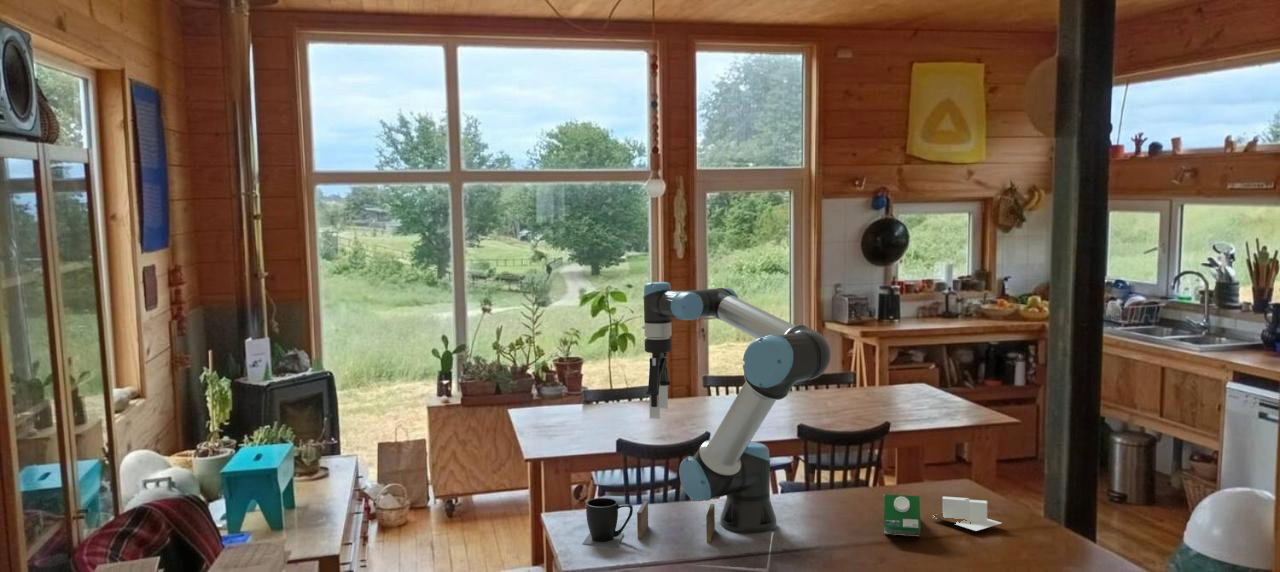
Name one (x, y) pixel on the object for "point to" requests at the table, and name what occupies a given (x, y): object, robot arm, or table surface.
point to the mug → (604, 518)
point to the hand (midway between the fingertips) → (659, 413)
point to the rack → (643, 521)
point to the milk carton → (902, 514)
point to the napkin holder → (967, 512)
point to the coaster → (612, 543)
